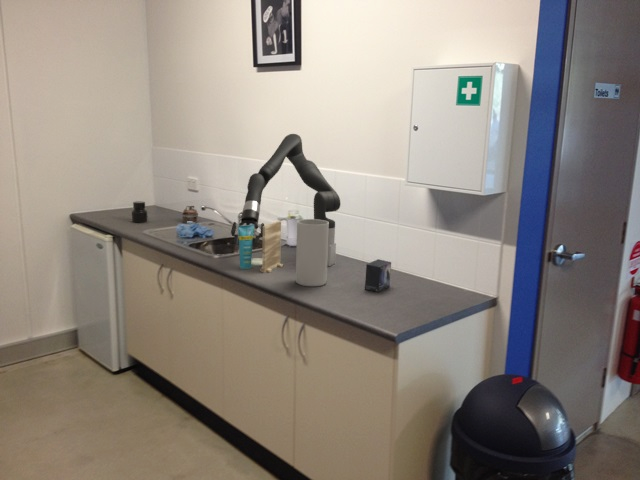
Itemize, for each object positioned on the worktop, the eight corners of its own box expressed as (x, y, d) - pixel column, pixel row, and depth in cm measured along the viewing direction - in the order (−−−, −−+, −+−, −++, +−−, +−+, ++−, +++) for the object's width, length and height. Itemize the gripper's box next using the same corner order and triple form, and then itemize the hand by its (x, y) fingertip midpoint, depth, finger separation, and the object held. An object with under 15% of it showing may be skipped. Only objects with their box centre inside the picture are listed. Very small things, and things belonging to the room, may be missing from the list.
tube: (240, 270, 247) (240, 226, 243) (235, 267, 251) (235, 224, 247) (255, 268, 251) (256, 225, 247) (250, 265, 255) (251, 223, 251)
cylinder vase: (311, 276, 241) (313, 218, 236) (332, 283, 233) (335, 222, 227) (289, 281, 233) (290, 221, 227) (310, 289, 224) (312, 226, 219)
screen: (284, 266, 257) (284, 222, 252) (268, 273, 244) (269, 227, 240) (274, 264, 259) (275, 220, 254) (258, 271, 246) (258, 225, 242)
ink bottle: (141, 219, 352) (141, 200, 350) (151, 221, 347) (150, 202, 345) (128, 221, 344) (127, 202, 342) (137, 223, 339) (136, 203, 337)
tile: (275, 261, 263) (275, 260, 263) (263, 267, 254) (263, 265, 253) (254, 258, 268) (254, 257, 268) (241, 263, 258) (241, 262, 258)
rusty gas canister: (180, 221, 352) (180, 205, 350) (196, 220, 356) (196, 204, 354) (183, 224, 344) (183, 207, 342) (199, 223, 348) (199, 207, 346)
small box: (378, 292, 223) (380, 266, 220) (364, 289, 226) (365, 263, 224) (390, 286, 231) (392, 261, 229) (376, 283, 235) (377, 258, 232)
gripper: (267, 218, 259) (263, 249, 250) (236, 217, 260) (230, 247, 251) (265, 209, 252) (261, 240, 244) (233, 207, 253) (228, 238, 245)
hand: (245, 244), depth 248 cm, fingers open, 8 cm apart
